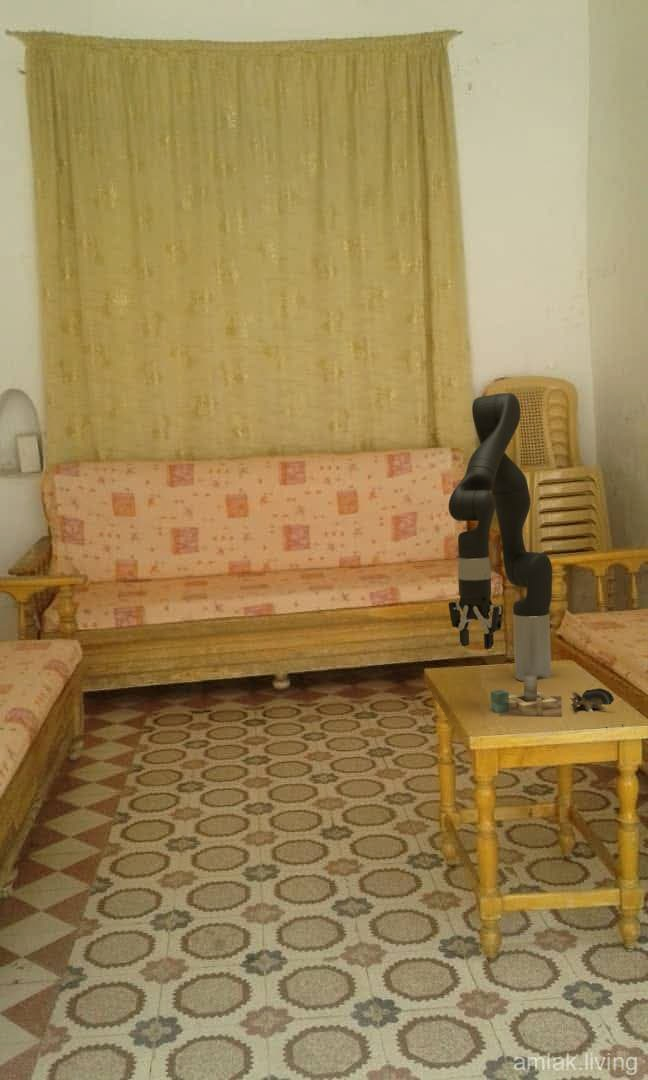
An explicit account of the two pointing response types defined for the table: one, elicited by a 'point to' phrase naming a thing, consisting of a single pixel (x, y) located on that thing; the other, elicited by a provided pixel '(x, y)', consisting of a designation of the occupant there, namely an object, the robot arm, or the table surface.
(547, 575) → the robot arm
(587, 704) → the brown squirrel figurine
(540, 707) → the dowel pin
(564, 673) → the table surface
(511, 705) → the square frame with handle
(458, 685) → the table surface
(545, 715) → the post board
